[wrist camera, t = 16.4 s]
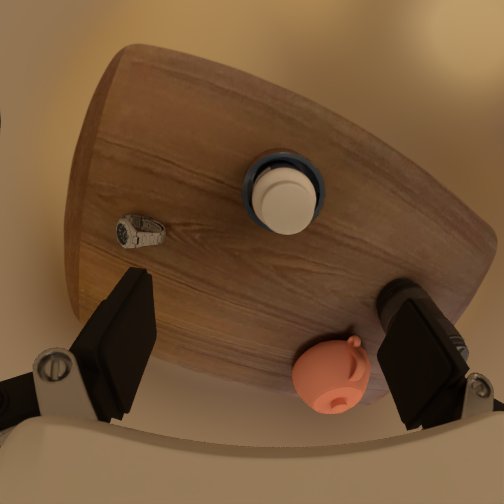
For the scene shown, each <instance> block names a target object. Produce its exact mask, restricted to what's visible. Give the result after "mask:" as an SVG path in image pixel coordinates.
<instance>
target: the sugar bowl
mask: <svg viewBox="0 0 504 504" xmlns="http://www.w3.org/2000/svg"><path fill="white" fill-rule="evenodd" d="M360 343H361V339H360V337H359V336H357V335H353V336H351V337H350V338H349V339H348V341H343V340H331V341H326V342H320V343H318V344H317V345H315V346H313V347H311V348H310V349H308V350H307V351H306V352H305V353H303V354H302V355H301V356H300V357H299V359H298V360H297V361H296V363H295V364H294V367H293V369H292V381H293V384H294V387H295V389H296V391H297V393H298V394H299V396H300V397H301V398H302V399H303V400H304V402H306V403H307V404H308V405H309V406H310V407H311V408H313V409H314V410H315V411H317V412H320V413H325V414H333V413H342V412H344V411H346V410H348V409H350V408H351V407H353V406H354V405H356V404H357V403H358V402H359V401H360V399H361V398H362V396H363V394H364V392H365V389H366V386H367V384H368V380H369V375H370V363H369V358H368V355H367V353H366V351H365V350H364V349H363V348H362V347H361V346H360Z"/></svg>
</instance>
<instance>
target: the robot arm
mask: <svg viewBox="0 0 504 504" xmlns="http://www.w3.org/2000/svg"><path fill="white" fill-rule="evenodd" d="M156 336H157V331H156V321H155V311H154V299H153V284H152V275H151V274H148V273H147V270H146V269H142V268H135V267H130V268H129V269H128V270H127V272H126V273H125V274H124V276H123V277H122V278H121V280H120V281H119V282H118V284H117V285H116V286H115V288H114V289H113V291H112V292H111V293H110V295H109V296H108V297H107V299H106V300H103V301H102V302H101V303H100V305H99V306H98V307H97V309H96V310H95V312H94V313H93V315H92V316H91V317H90V319H89V320H88V322H87V323H86V325H85V326H84V328H83V329H82V331H81V332H80V334H79V335H78V337H77V338H76V340H75V341H74V343H73V344H72V346H71V348H70V349H69V350H66V349H64V348H58V347H56V348H50V349H47V350H45V351H43V352H42V353H41V354H39V355H38V357H37V358H36V359H35V361H34V364H33V372H30V373H27V374H23V375H20V376H17V377H14V378H11V379H7V380H4V381H1V382H0V504H504V404H503V403H501V402H499V401H498V400H496V399H494V391H493V387H492V384H491V383H490V381H489V380H488V379H487V378H486V377H485V376H483V375H482V374H479V373H471V374H470V375H469V376H468V377H467V378H465V374H466V373H467V372H468V370H469V369H470V368H469V367H468V365H467V364H466V362H465V360H464V359H463V357H462V356H461V354H460V352H459V351H458V349H457V348H456V346H455V345H454V343H453V342H452V340H451V339H450V338H449V336H448V335H447V333H446V332H445V330H444V329H443V328H442V326H441V325H440V323H439V322H438V321H437V319H436V318H435V316H434V315H433V314H432V312H431V311H430V310H429V308H428V307H427V306H426V304H425V303H424V302H423V300H421V299H418V298H408V299H406V300H405V301H404V302H403V303H402V304H401V306H400V309H399V311H398V313H397V315H396V317H395V319H394V321H393V323H392V325H391V327H390V329H389V331H388V333H387V335H386V337H385V339H384V341H383V342H382V344H381V346H380V348H379V350H378V353H377V359H378V362H379V364H380V366H381V369H382V371H383V374H384V376H385V379H386V381H387V384H388V386H389V389H390V391H391V394H392V396H393V399H394V402H395V404H396V407H397V410H398V413H399V415H400V418H401V421H402V422H403V423H404V424H405V426H406V428H407V430H412V429H416V428H418V427H419V426H420V425H422V427H423V428H422V430H421V431H417V432H413V433H409V434H404V435H400V436H395V437H390V438H384V439H378V440H373V441H366V442H359V443H350V444H342V445H331V446H317V447H281V448H280V447H249V446H248V447H247V446H234V445H224V444H223V445H222V444H214V443H206V442H199V441H192V440H186V439H179V438H173V437H168V436H163V435H158V434H153V433H148V432H144V431H139V430H135V429H131V428H126V427H122V426H118V425H114V424H110V421H111V418H115V419H118V420H122V418H123V415H124V413H127V414H128V413H129V412H130V409H131V406H132V403H133V401H134V398H135V395H136V392H137V389H138V386H139V384H140V381H141V378H142V375H143V372H144V370H145V367H146V365H147V362H148V359H149V356H150V354H151V351H152V349H153V346H154V344H155V341H156Z"/></svg>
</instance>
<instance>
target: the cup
mask: <svg viewBox="0 0 504 504" xmlns="http://www.w3.org/2000/svg"><path fill="white" fill-rule="evenodd" d="M274 160H284V161H288V162H290V163H292V164H294V165H295V166H297V167H298V168H299V169H300V170H301V171H302V172H303V173H304V174H305V176H307V178H308V179H309V180H310V182H311V183H312V185H313V187H314V190H315V194H316V205H315V209H314V214H313V217H312V220H311V222H312V221H313V220H314V219H315V218H316V217H317V216H318V214H319V212H320V210H321V209H322V206H323V203H324V199H325V186H324V180H323V178H322V176H321V174H320V172H319V170H318V169H317V168H316V167H315V166H314V165H313V163H312V162H311V161H309V160H308V159H307V158H305V157H304V156H302V155H300V154H299V153H297V152H295V151H293V150H290V149H286V148H274V149H269V150H266V151H264V152H262V153H261V154H259V155H258V156H256V157H255V158H254V159H253V160H252V162H251V163H250V165H249V167H248V169H247V171H246V173H245V177H244V180H243V185H242V193H241V194H242V200H243V205H244V208H245V210H246V211H247V213H248V215H249V217H250V218H251V219H252V220H253V221H254V222H255V223H257V224H258V225H259V226H260V227H262V228H265V229H267V230H269V231H271V232H274V231H273V230H271V229H270V228H269V227H268V226H267V225H265V224H264V223H263V222H262V221H261V220H260V219H259V218H258V217H257V215H256V213H255V211H254V208H253V204H252V193H253V184H254V179H255V176H256V174H257V172H258V170H259V169H260V168H261V167H262V166H263V165H265V164H266V163H268V162H270V161H274ZM311 222H310V223H311ZM310 223H309V224H310ZM309 224H308V225H309Z"/></svg>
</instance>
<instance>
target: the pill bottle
mask: <svg viewBox="0 0 504 504" xmlns="http://www.w3.org/2000/svg"><path fill="white" fill-rule="evenodd" d="M252 204H253V208H254V211H255V213H256V215H257V217H258V218H259V219H260V220H261V221H262V222H263V223H264V224H265V225H267V226H268V227H269V228H270V229H271V230H273V231H274V232H276V233H279V234H284V235H290V234H295V233H298V232H300V231H302V230H303V229H304V228H306V227H307V226H308V224H309V223H310V222H311V220H312V217H313V214H314V209H315V205H316V194H315V190H314V187H313V185H312V183H311V182H310V180H309V179H308V178H307V176H305V174H304V173H303V172H302V171H301V170H300V169H299V168H298V167H297V166H295V165H294V164H292V163H290V162H288V161H284V160H274V161H270V162H268V163H266V164H265V165H263V166H262V167H261V168H260V169H259V170H258V172H257V174H256V176H255V179H254V184H253V193H252Z"/></svg>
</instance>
